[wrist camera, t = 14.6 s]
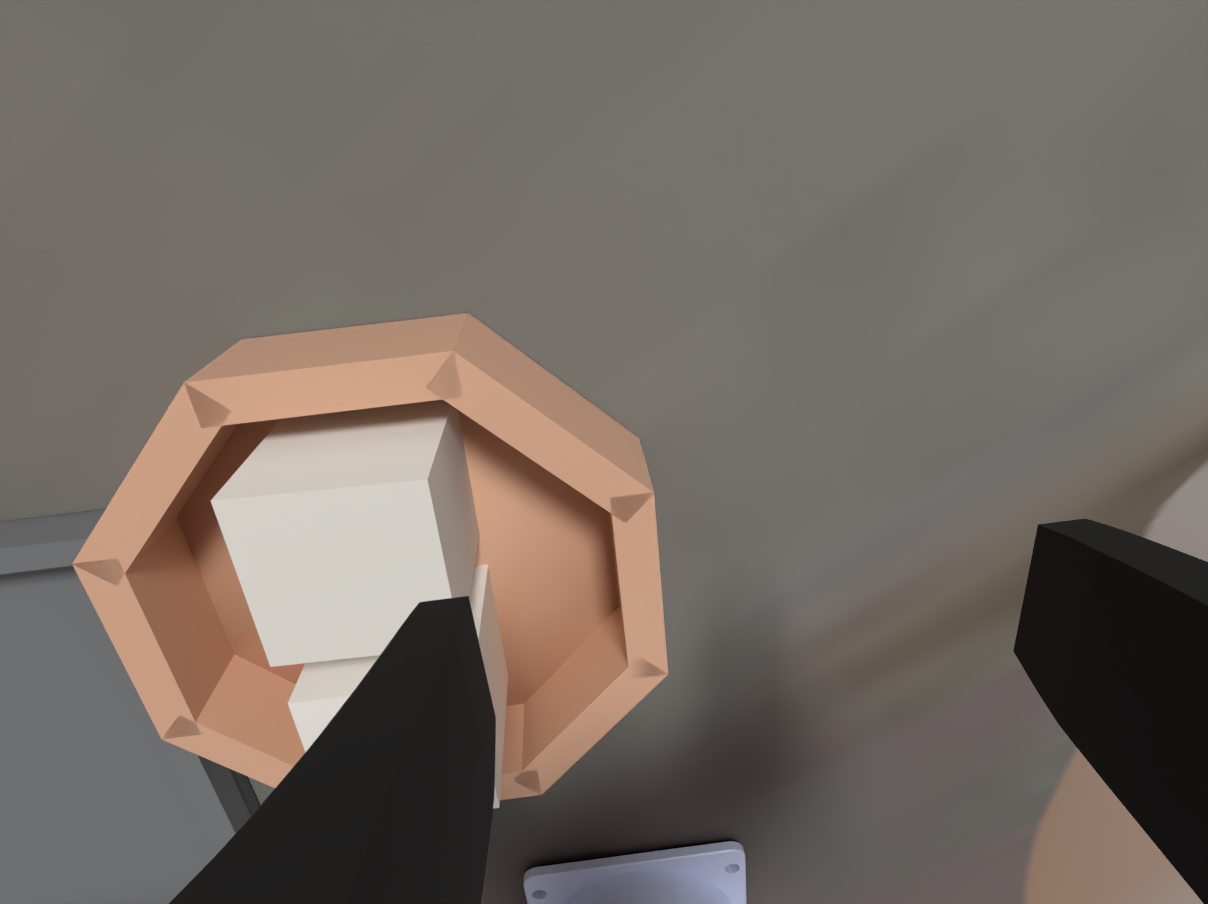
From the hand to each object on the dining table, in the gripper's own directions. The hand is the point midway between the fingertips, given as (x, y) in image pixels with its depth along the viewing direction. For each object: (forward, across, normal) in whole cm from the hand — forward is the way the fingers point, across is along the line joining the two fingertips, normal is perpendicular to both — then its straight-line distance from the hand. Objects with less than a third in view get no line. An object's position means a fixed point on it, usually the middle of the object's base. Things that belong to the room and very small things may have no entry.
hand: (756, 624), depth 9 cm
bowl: (+10, +7, +4) cm, 13 cm away
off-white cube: (+9, +7, +2) cm, 12 cm away
